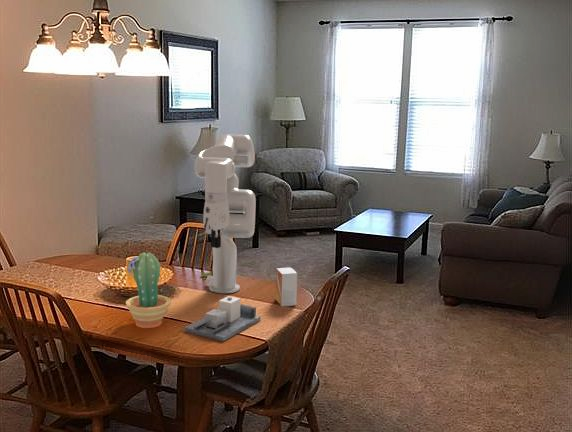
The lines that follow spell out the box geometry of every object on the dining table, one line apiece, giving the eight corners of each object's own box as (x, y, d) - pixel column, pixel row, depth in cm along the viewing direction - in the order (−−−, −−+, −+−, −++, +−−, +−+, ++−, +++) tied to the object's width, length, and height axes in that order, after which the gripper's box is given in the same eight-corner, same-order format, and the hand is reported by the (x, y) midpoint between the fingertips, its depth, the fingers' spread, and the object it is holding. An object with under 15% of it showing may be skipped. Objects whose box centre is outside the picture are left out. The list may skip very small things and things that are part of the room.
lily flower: (225, 273, 281) (225, 263, 280) (227, 281, 269) (227, 271, 269) (198, 273, 279) (198, 264, 278) (199, 282, 267) (199, 271, 267)
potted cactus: (142, 312, 228) (141, 246, 223) (179, 319, 223) (179, 251, 218) (116, 327, 214) (114, 256, 209) (155, 334, 209) (154, 262, 204)
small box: (275, 299, 247) (275, 268, 244) (290, 298, 249) (291, 267, 246) (280, 306, 239) (281, 273, 237) (296, 305, 241) (297, 272, 238)
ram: (205, 325, 213) (205, 313, 212) (219, 318, 220) (219, 306, 219) (217, 328, 210) (217, 316, 210) (230, 321, 217) (230, 309, 216)
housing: (218, 319, 220) (218, 298, 218) (228, 314, 225) (228, 294, 223) (230, 322, 217) (230, 301, 216) (240, 317, 222) (240, 296, 221)
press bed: (184, 331, 212) (184, 318, 211) (223, 311, 232) (223, 300, 231) (223, 341, 204) (223, 328, 204) (260, 320, 224) (260, 308, 223)
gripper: (212, 201, 210) (211, 253, 215) (236, 194, 223) (236, 244, 227) (194, 198, 214) (194, 250, 218) (219, 191, 227) (219, 240, 231)
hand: (215, 246), depth 223 cm, fingers closed
